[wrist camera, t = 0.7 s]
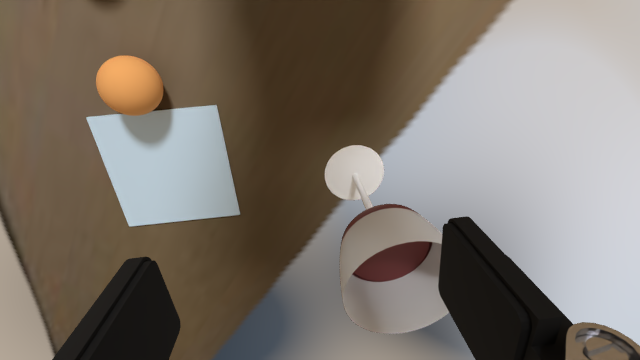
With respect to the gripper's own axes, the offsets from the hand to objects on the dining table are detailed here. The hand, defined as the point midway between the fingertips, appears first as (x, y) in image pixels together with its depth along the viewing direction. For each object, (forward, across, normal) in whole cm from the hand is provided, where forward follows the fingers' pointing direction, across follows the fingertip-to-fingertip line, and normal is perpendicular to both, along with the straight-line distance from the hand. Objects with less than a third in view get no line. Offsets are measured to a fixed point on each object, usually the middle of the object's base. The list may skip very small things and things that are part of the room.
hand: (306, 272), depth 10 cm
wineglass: (+28, -6, +9) cm, 30 cm away
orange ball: (+25, +16, -4) cm, 30 cm away
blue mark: (+28, +16, +6) cm, 32 cm away
